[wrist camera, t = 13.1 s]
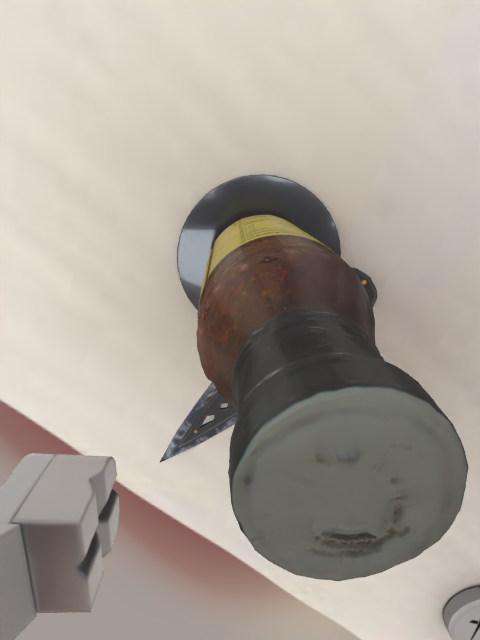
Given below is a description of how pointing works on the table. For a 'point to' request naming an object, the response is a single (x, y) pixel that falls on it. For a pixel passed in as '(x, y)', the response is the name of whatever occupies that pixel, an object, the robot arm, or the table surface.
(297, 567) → the sauce bottle
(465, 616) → the travel mug
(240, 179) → the round mirror
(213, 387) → the throwing knife
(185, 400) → the table surface
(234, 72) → the table surface
